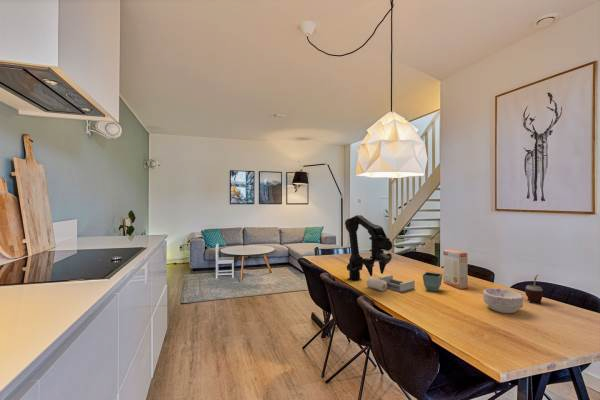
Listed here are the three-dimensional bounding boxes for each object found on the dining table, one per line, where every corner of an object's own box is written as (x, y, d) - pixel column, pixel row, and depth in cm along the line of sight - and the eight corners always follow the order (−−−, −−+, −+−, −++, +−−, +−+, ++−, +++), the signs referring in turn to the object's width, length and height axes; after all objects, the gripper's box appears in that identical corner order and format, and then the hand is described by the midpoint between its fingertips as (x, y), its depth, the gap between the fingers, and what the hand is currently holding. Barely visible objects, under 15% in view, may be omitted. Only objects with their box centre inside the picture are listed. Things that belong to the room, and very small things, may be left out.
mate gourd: (531, 299, 152) (531, 270, 152) (548, 304, 144) (548, 273, 144) (521, 300, 150) (521, 271, 150) (538, 306, 142) (537, 274, 142)
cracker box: (468, 288, 170) (468, 252, 170) (459, 289, 169) (458, 253, 169) (451, 282, 184) (451, 248, 184) (443, 282, 183) (442, 249, 183)
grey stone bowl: (505, 317, 128) (505, 299, 128) (475, 305, 143) (475, 289, 143) (531, 314, 132) (531, 296, 132) (500, 302, 147) (500, 286, 147)
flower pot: (439, 293, 162) (439, 277, 162) (422, 290, 167) (422, 274, 167) (442, 289, 169) (442, 273, 169) (426, 287, 174) (426, 271, 174)
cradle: (378, 286, 177) (378, 277, 177) (391, 282, 183) (391, 274, 183) (401, 293, 163) (401, 284, 163) (414, 289, 170) (414, 280, 170)
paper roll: (366, 287, 174) (366, 277, 174) (373, 286, 177) (373, 276, 177) (380, 292, 165) (380, 281, 165) (387, 290, 168) (387, 279, 168)
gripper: (376, 251, 159) (376, 280, 159) (398, 248, 170) (398, 275, 170) (361, 248, 169) (361, 276, 168) (382, 245, 179) (383, 271, 179)
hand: (376, 274), depth 171 cm, fingers open, 9 cm apart
